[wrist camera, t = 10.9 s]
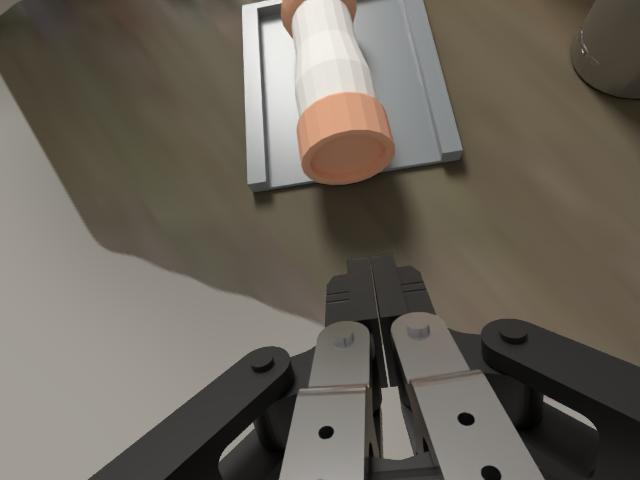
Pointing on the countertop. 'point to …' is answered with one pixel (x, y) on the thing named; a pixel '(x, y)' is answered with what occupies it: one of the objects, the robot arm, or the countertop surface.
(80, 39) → the countertop surface
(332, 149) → the pepper shaker
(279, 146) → the tray
